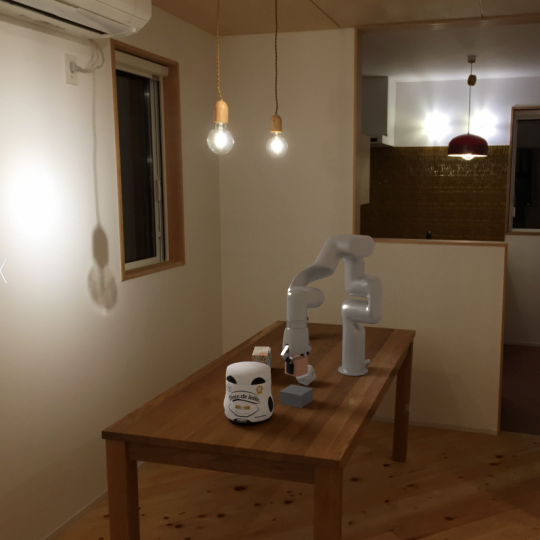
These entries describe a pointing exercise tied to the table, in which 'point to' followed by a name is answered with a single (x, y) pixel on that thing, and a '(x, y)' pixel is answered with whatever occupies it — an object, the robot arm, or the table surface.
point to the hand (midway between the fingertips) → (296, 371)
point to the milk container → (248, 392)
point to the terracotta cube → (299, 366)
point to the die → (307, 376)
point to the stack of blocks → (262, 355)
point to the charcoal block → (296, 396)
